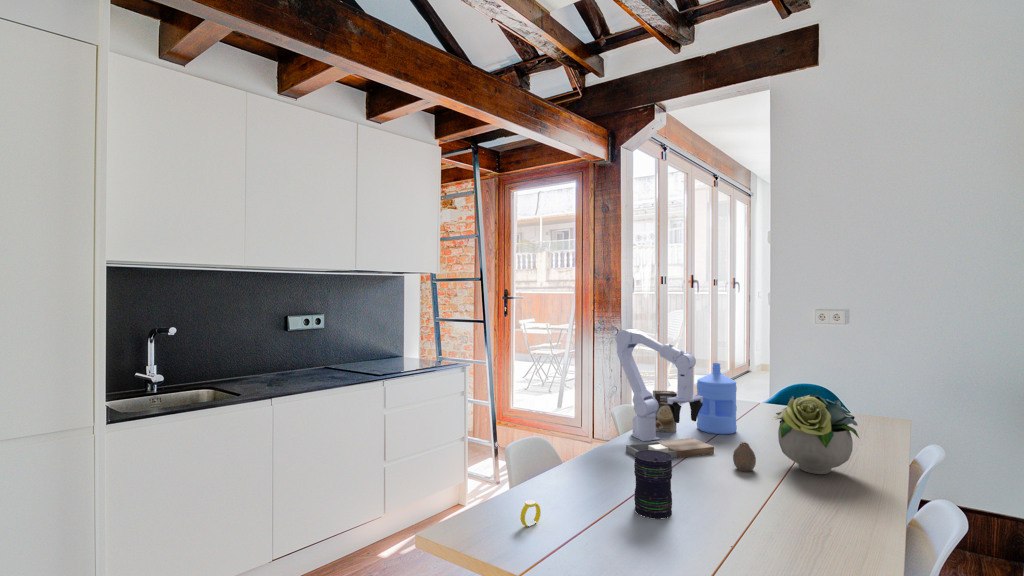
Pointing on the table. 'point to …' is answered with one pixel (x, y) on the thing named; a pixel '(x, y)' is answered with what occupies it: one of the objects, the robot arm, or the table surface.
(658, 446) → the white square block
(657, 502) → the storage jar
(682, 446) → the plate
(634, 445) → the box
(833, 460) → the flower arrangement
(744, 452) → the brown oval piece
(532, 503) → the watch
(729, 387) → the water jug
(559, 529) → the table surface
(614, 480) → the table surface
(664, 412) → the coffee box
